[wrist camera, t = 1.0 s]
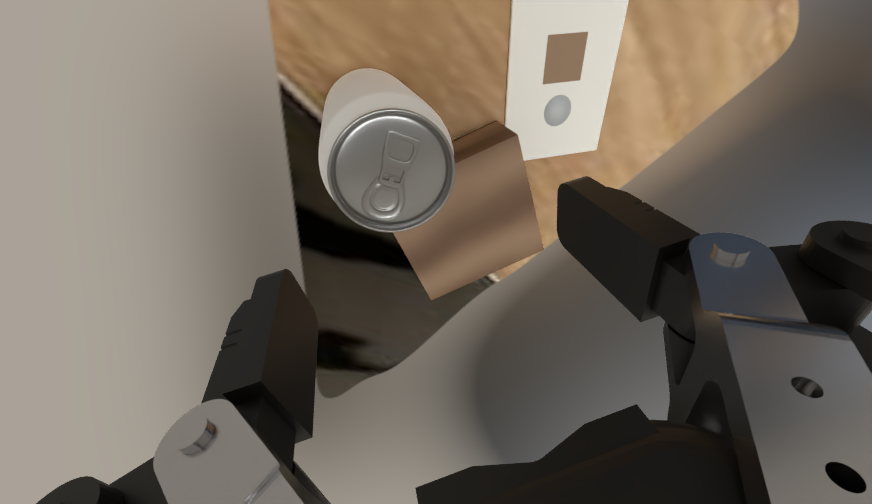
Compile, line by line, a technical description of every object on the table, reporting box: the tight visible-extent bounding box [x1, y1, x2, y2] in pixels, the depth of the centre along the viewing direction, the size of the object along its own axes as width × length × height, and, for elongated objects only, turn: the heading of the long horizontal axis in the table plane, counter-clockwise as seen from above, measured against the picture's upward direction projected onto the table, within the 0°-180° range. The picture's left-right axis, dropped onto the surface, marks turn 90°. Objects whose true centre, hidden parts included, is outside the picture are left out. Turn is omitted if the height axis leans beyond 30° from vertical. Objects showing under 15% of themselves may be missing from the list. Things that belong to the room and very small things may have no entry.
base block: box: [393, 121, 544, 300], centre depth 28 cm, size 11×11×4 cm
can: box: [318, 68, 455, 232], centre depth 19 cm, size 6×6×12 cm
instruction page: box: [504, 0, 629, 161], centre depth 26 cm, size 12×9×1 cm
